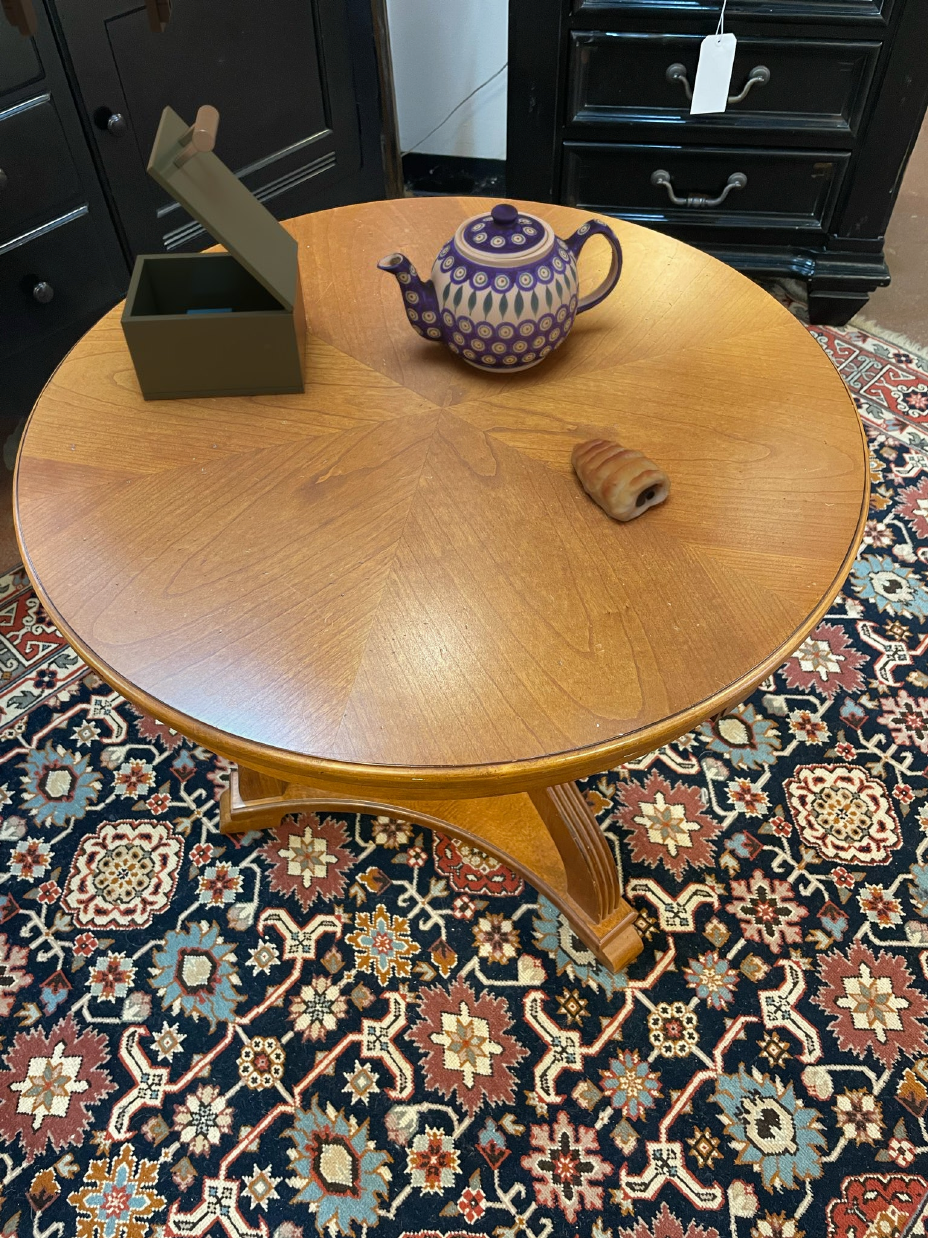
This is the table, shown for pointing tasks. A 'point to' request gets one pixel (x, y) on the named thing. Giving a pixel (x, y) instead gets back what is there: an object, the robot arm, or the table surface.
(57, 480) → the table surface
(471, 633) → the table surface
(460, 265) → the teapot
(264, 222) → the lid
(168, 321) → the bin
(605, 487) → the pastry
